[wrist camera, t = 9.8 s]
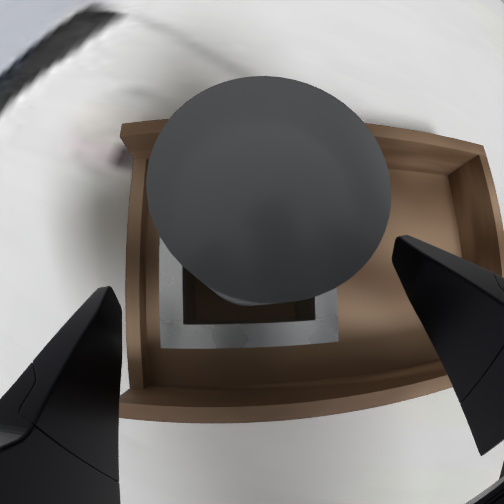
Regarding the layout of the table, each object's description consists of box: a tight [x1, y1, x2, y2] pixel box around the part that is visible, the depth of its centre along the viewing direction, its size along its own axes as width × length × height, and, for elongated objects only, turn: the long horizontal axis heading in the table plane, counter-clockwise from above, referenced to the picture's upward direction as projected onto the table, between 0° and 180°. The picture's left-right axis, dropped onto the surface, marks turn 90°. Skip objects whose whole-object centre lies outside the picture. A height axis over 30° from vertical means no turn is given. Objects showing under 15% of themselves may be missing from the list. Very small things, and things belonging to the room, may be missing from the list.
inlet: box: [159, 238, 339, 349], centre depth 15 cm, size 8×8×4 cm
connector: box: [146, 76, 391, 306], centre depth 11 cm, size 4×4×13 cm
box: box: [119, 119, 504, 423], centre depth 16 cm, size 15×23×4 cm, turn 92°
